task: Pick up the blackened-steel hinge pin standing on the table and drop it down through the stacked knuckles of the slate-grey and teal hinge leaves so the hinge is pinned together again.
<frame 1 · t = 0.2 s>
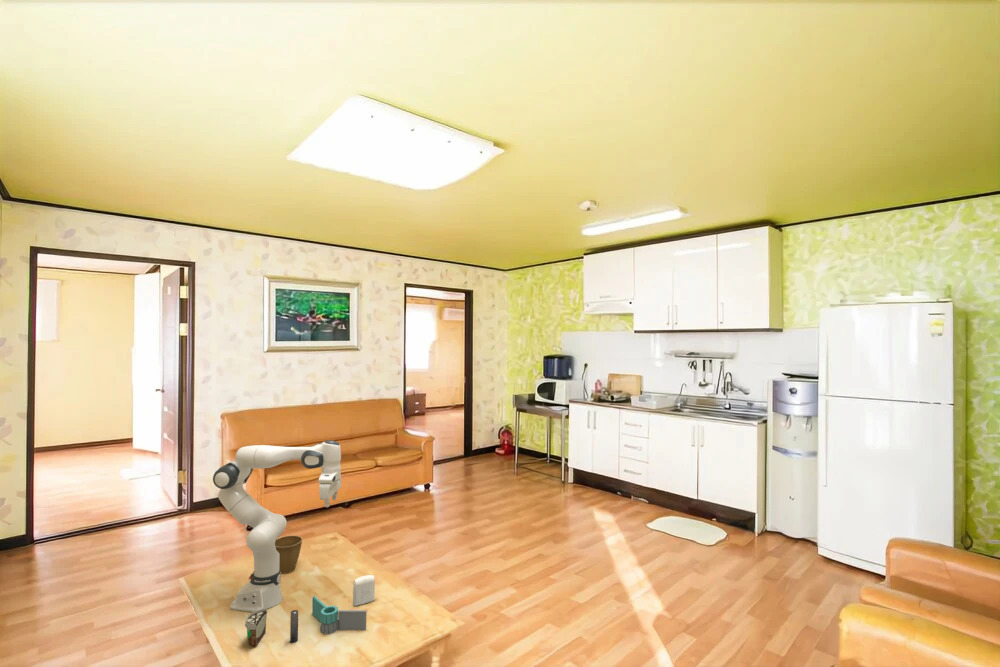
hand: (330, 503, 232), 48 cm above the table, fingers open, 8 cm apart
hinge pin: (294, 640, 202), on the table
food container: (253, 641, 201), on the table
door leaf: (323, 613, 214), point 4 cm above the table, hinge at 0.0°
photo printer: (363, 602, 232), on the table
plant pot: (287, 570, 263), on the table
frame leaf: (329, 629, 210), on the table
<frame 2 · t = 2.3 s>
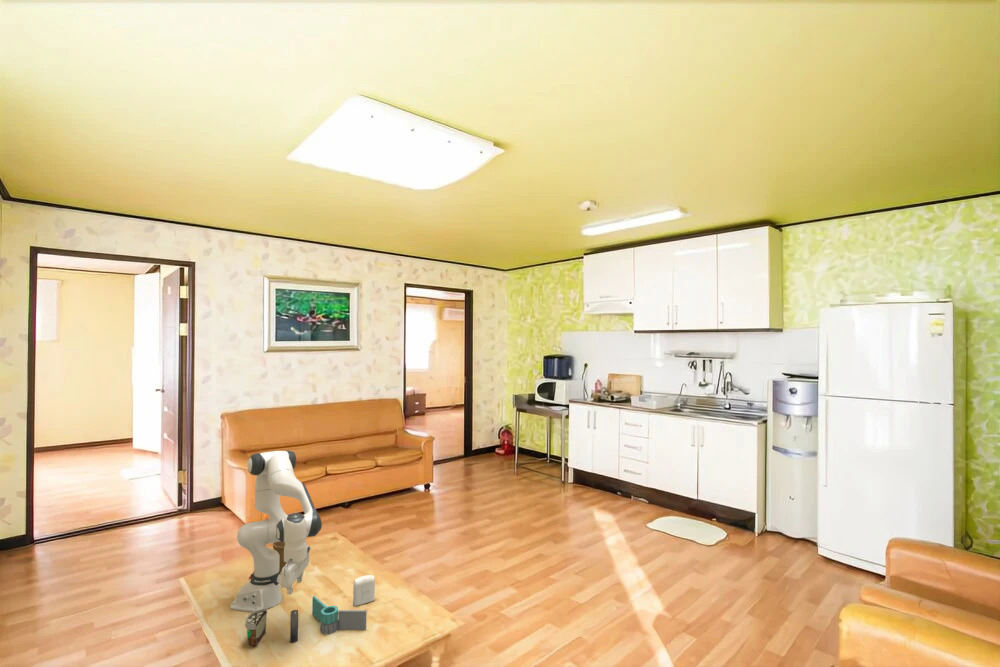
hand: (294, 587, 202), 22 cm above the table, fingers open, 8 cm apart
nothing on the table moved.
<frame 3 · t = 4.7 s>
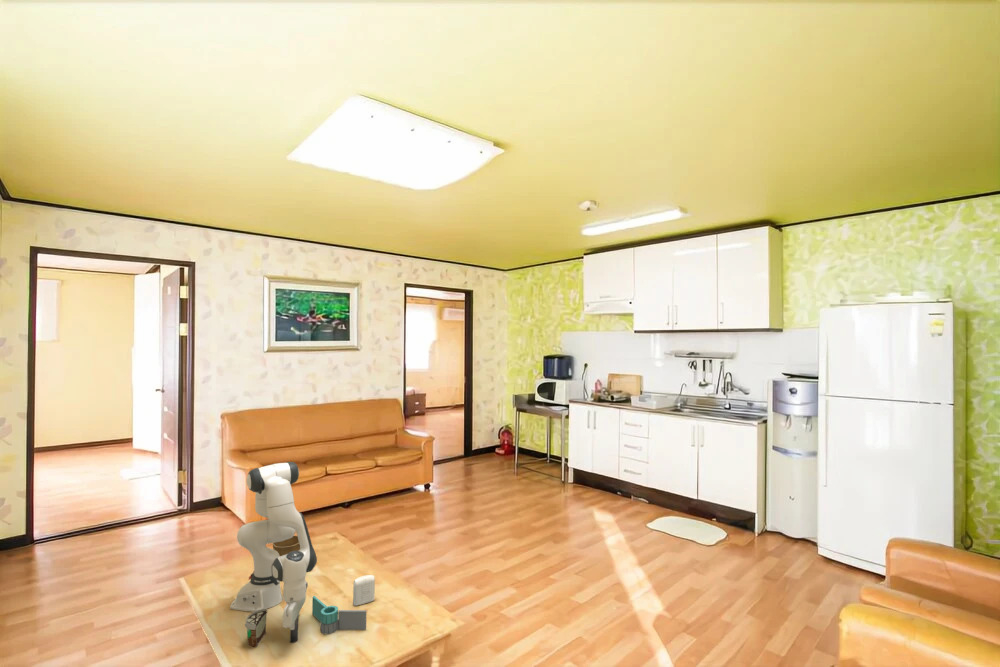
hand: (294, 625, 202), 6 cm above the table, fingers closed on hinge pin, 3 cm apart
hinge pin: (294, 640, 202), on the table, touching gripper
everything else where it was.
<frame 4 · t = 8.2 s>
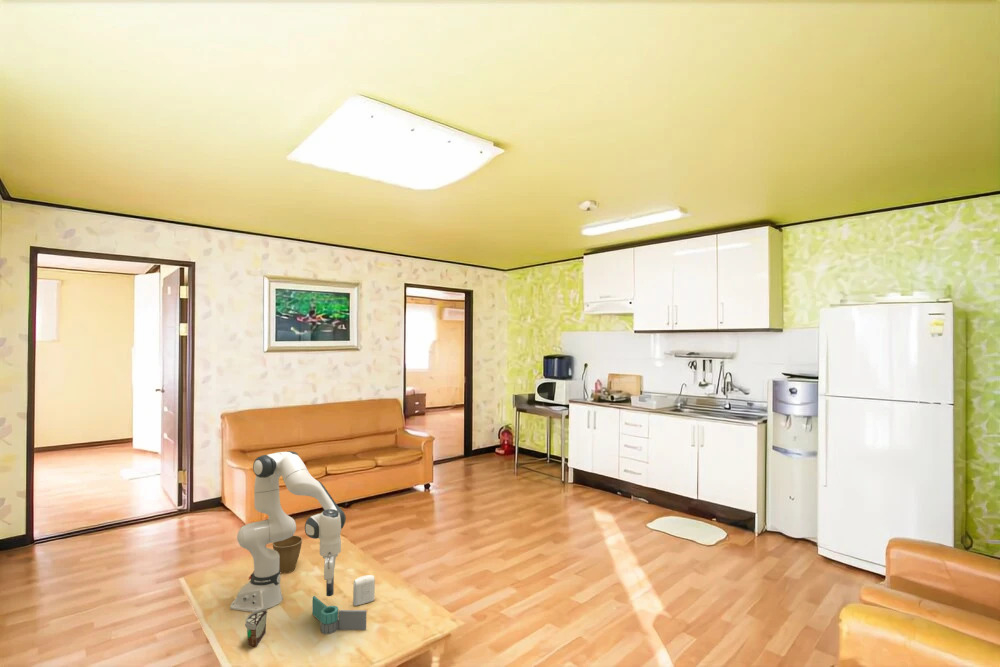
hand: (330, 580, 210), 21 cm above the table, fingers closed on hinge pin, 3 cm apart
hinge pin: (329, 594, 210), point 15 cm above the table, touching gripper
everything else where it was.
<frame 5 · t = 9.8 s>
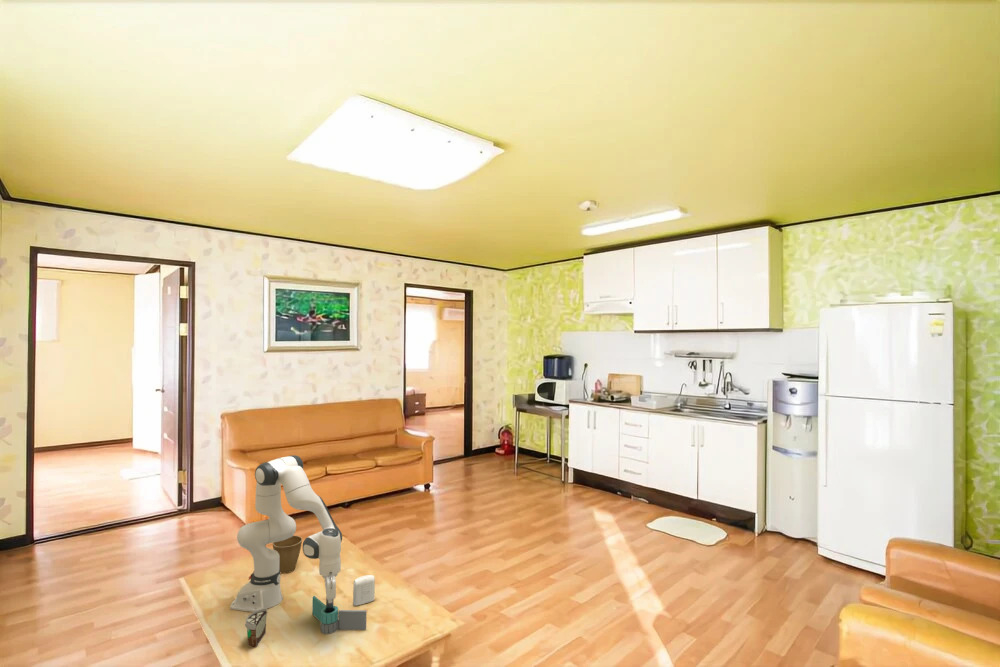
hand: (329, 599, 210), 13 cm above the table, fingers closed on hinge pin, 3 cm apart
hinge pin: (329, 613, 210), point 7 cm above the table, touching gripper
everything else where it was.
when the fingers open (10 cm above the table, at t = 11.4 s): hinge pin drops 3 cm, resting in frame leaf.
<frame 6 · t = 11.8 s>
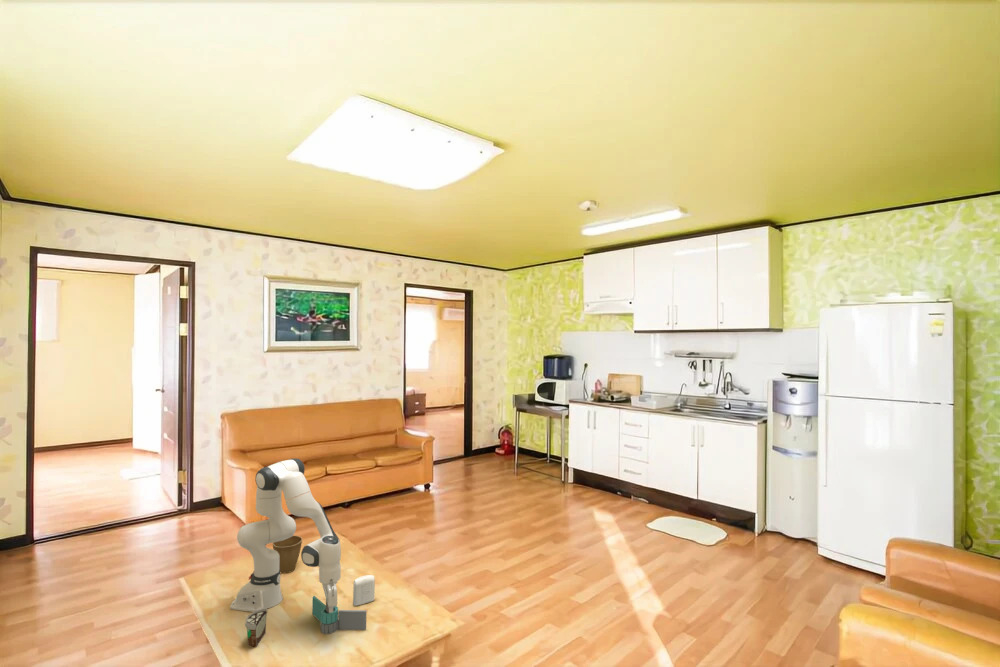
hand: (329, 607, 210), 10 cm above the table, fingers open, 7 cm apart
hinge pin: (329, 629, 210), resting in frame leaf
everything else where it was.
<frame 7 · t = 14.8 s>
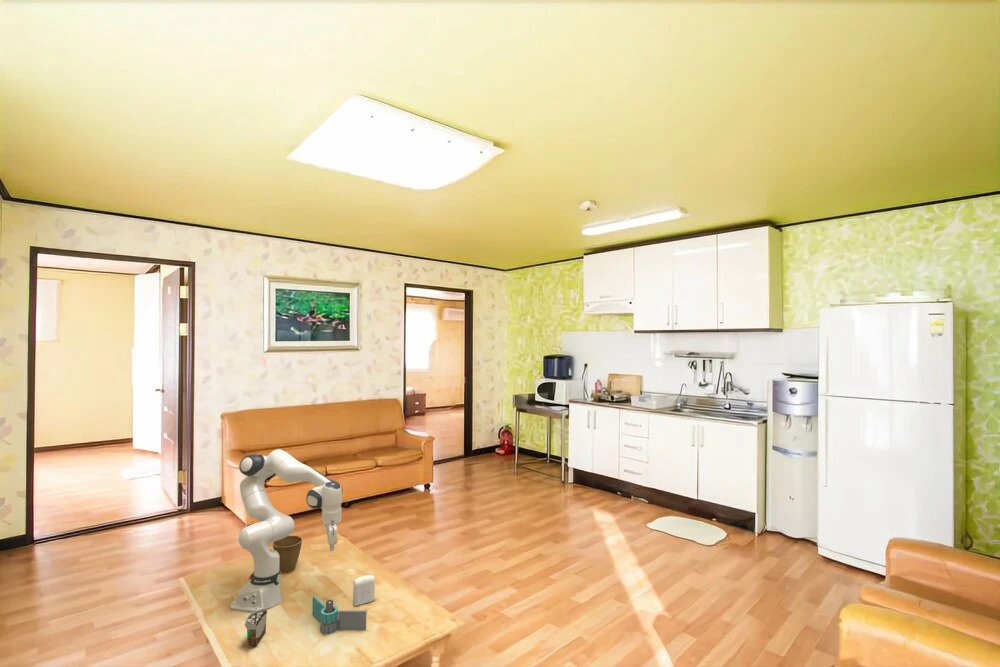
hand: (330, 546, 228), 28 cm above the table, fingers open, 8 cm apart
nothing on the table moved.
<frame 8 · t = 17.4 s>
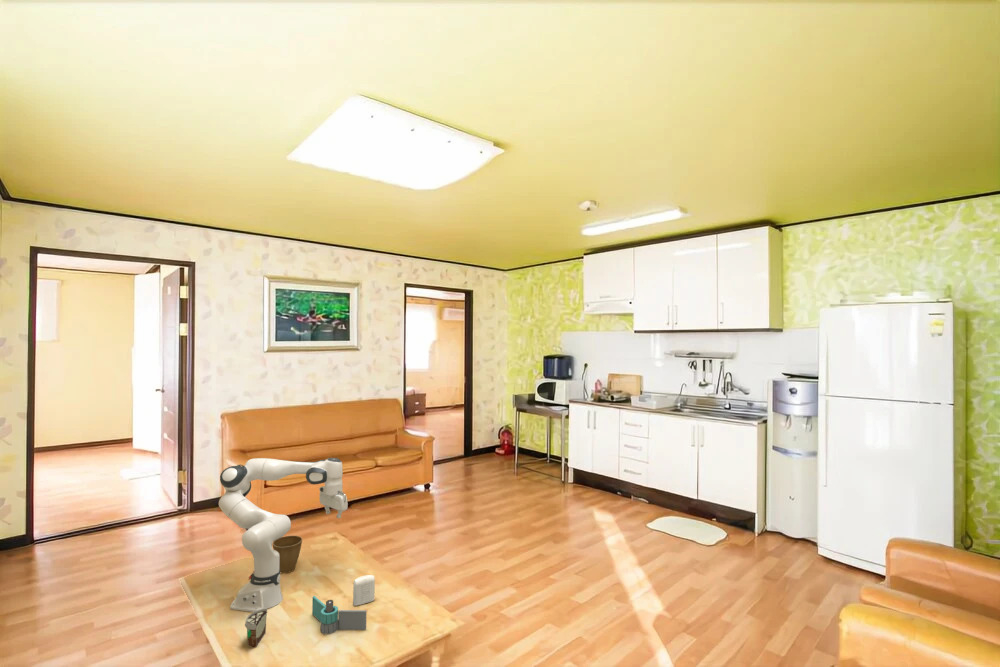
hand: (333, 515, 252), 34 cm above the table, fingers open, 8 cm apart
nothing on the table moved.
at the end: hinge pin 0.0 cm off-centre on the frame leaf, point 0.0 cm above the frame leaf's base; hinge pin tilted 0°; the gripper is holding nothing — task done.
